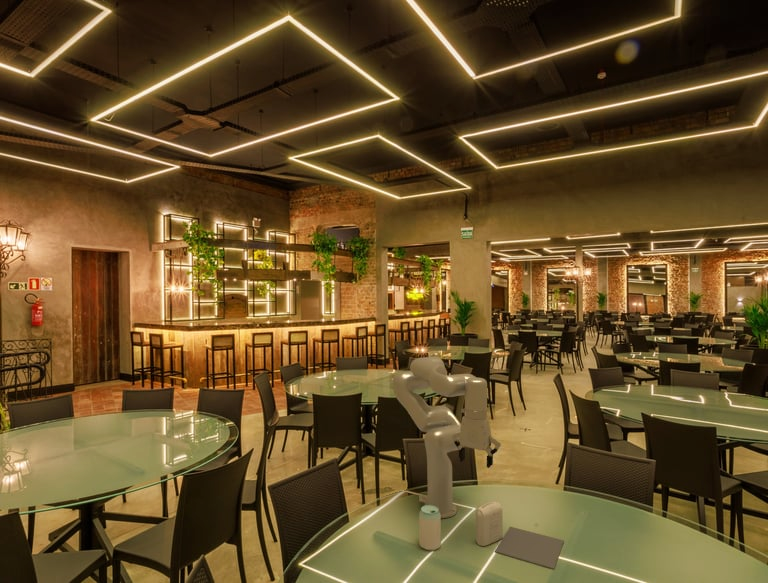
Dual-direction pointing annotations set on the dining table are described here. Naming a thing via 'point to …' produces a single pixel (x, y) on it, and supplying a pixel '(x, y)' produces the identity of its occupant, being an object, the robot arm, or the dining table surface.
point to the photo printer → (489, 523)
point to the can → (430, 527)
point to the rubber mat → (530, 547)
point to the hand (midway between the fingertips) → (475, 463)
